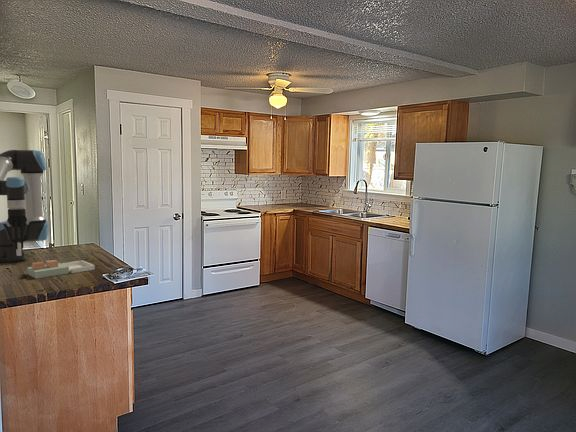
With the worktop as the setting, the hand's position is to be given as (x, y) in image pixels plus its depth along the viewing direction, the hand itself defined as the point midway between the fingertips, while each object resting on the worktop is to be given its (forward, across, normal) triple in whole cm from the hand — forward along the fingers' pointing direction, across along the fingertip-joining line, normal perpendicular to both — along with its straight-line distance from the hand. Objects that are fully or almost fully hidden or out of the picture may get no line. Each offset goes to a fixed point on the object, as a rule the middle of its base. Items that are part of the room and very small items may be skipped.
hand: (19, 255), depth 217 cm
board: (+12, +13, 0) cm, 18 cm away
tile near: (+8, +9, 0) cm, 12 cm away
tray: (+12, +28, 0) cm, 30 cm away
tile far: (+8, +15, 0) cm, 17 cm away
